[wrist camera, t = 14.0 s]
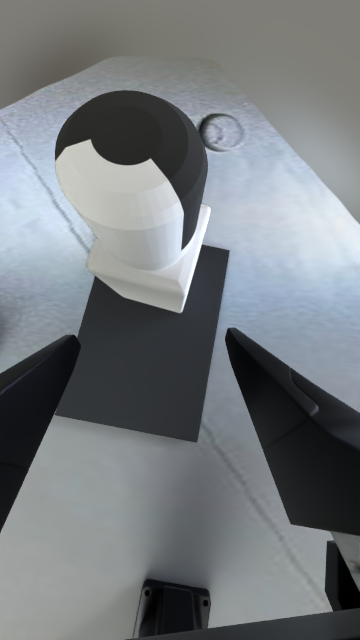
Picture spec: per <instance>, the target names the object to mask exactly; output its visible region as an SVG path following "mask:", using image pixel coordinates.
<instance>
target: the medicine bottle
mask: <svg viewBox="0 0 360 640" xmlns="http://www.w3.org/2000/svg"><path fill="white" fill-rule="evenodd" d="M55 168H56V175H57V180H58V183H59V185H60V188H61V190H62V192H63V193H64V195H65V197H66V198H67V200H68V201H69V202H70V204H71V205H72V206H73V207H74V209H75V210H76V211H77V213H78V214H79V215H80V216H81V218H82V219H83V220H84V222H85V223H86V224H87V225H88V227H89V228H90V229H91V231H92V232H93V233H94V234H95V236H96V240H95V242H94V245H93V247H92V250H91V253H90V255H89V258H88V260H87V263H86V267H87V269H88V270H89V271H90V272H91V273H93V274H94V275H95V276H97V277H98V278H99V279H100V280H102V281H103V282H104V283H106V284H107V285H108V286H109V287H111V288H112V289H113V290H115V291H116V292H117V293H118V294H120V295H121V296H122V297H124V298H128V299H131V300H135V301H138V302H142V303H145V304H149V305H152V306H156V307H160V308H163V309H167V310H170V311H174V312H177V313H181V312H182V311H183V308H184V304H185V301H186V298H187V294H188V291H189V287H190V284H191V280H192V277H193V273H194V270H195V266H196V263H197V259H198V256H199V252H200V248H201V245H202V241H203V238H204V234H205V231H206V227H207V224H208V220H209V217H210V213H211V209H210V207H209V206H207V205H204V204H201V202H202V197H203V192H204V187H205V182H206V177H207V170H208V161H207V154H206V150H205V147H204V144H203V142H202V140H201V138H200V135H199V133H198V131H197V129H196V127H195V126H194V124H193V123H192V121H191V120H190V119H189V118H188V117H187V115H186V114H184V113H183V112H182V111H181V110H180V109H179V108H177V107H176V106H174V105H173V104H171V103H169V102H168V101H166V100H164V99H161V98H159V97H156V96H153V95H150V94H147V93H143V92H138V91H126V90H123V91H114V92H109V93H105V94H102V95H99V96H97V97H95V98H93V99H91V100H90V101H88V102H86V103H85V104H84V105H82V106H81V107H80V108H78V109H77V110H76V111H75V112H73V114H72V115H71V116H70V117H69V118H68V119H67V120H66V122H65V123H64V125H63V126H62V128H61V130H60V132H59V135H58V138H57V141H56V147H55Z"/></svg>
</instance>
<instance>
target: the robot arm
mask: <svg viewBox="0 0 360 640" xmlns="http://www.w3.org/2000/svg"><path fill="white" fill-rule="evenodd" d="M225 342H226V346H227V350H228V354H229V358H230V362H231V365H232V368H233V371H234V374H235V376H236V379H237V382H238V384H239V387H240V390H241V392H242V395H243V398H244V400H245V403H246V406H247V408H248V411H249V414H250V417H251V419H252V422H253V425H254V427H255V430H256V433H257V435H258V438H259V441H260V443H261V446H262V449H263V452H264V454H265V457H266V460H267V462H268V465H269V468H270V470H271V473H272V476H273V479H274V481H275V484H276V487H277V489H278V492H279V495H280V497H281V500H282V503H283V505H284V508H285V511H286V513H287V516H288V519H289V521H290V523H291V524H292V525H298V526H304V527H309V528H315V529H321V530H327V531H330V532H331V534H332V536H333V538H334V540H332V541H327V553H326V576H325V592H326V595H327V597H328V600H329V602H330V605H331V607H332V610H333V612H327V613H319V614H312V615H305V616H297V617H290V618H282V619H275V620H268V621H260V622H253V623H245V624H238V625H231V626H223V627H216V628H208V629H207V627H208V620H209V613H210V606H211V600H210V594H209V591H208V590H206V589H202V588H196V587H191V586H185V585H179V584H174V583H168V582H163V581H157V580H151V579H147V580H145V581H144V583H143V587H142V592H141V598H140V603H139V608H138V613H137V619H136V624H135V629H134V634H133V639H127V640H360V413H359V412H357V411H356V410H354V409H353V408H351V407H349V406H348V405H346V404H345V403H343V402H342V401H340V400H338V399H337V398H335V397H334V396H332V395H331V394H329V393H327V392H326V391H324V390H323V389H321V388H320V387H318V386H317V385H315V384H313V383H312V382H310V381H309V380H308V379H306V378H305V377H303V376H302V375H300V374H299V373H298V372H296V371H295V370H293V369H292V368H290V367H289V366H288V365H286V364H285V363H284V362H282V361H281V360H279V359H278V358H277V357H275V356H274V355H272V354H271V353H270V352H268V351H267V350H265V349H264V348H263V347H261V346H260V345H258V344H257V343H256V342H254V341H253V340H252V339H250V338H249V337H247V336H246V335H245V334H243V333H242V332H240V331H239V330H238V329H236V328H228V329H227V333H226V337H225ZM80 349H81V344H80V342H79V341H78V339H77V338H76V336H75V335H65V336H63V337H61V338H60V339H58V340H56V341H55V342H53V343H51V344H50V345H48V346H46V347H44V348H43V349H41V350H39V351H38V352H36V353H34V354H33V355H31V356H29V357H28V358H26V359H24V360H22V361H21V362H19V363H17V364H16V365H14V366H12V367H11V368H9V369H7V370H5V371H4V372H2V373H0V532H1V530H2V528H3V526H4V523H5V521H6V519H7V517H8V515H9V512H10V510H11V508H12V506H13V504H14V501H15V499H16V497H17V495H18V492H19V490H20V488H21V486H22V484H23V481H24V479H25V477H26V475H27V473H28V470H29V468H30V466H31V464H32V461H33V459H34V457H35V455H36V453H37V450H38V448H39V446H40V444H41V442H42V439H43V437H44V435H45V433H46V430H47V428H48V426H49V424H50V422H51V419H52V417H53V415H54V413H55V411H56V408H57V406H58V404H59V402H60V400H61V397H62V395H63V393H64V391H65V389H66V386H67V384H68V382H69V380H70V378H71V375H72V373H73V370H74V368H75V365H76V361H77V358H78V355H79V352H80Z"/></svg>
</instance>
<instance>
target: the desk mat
mask: <svg viewBox="0 0 360 640" xmlns="http://www.w3.org/2000/svg"><path fill="white" fill-rule="evenodd" d="M228 257H229V250H225V249H220V248H215V247H211V246H206V245H201V248H200V252H199V256H198V259H197V263H196V266H195V270H194V273H193V277H192V280H191V284H190V287H189V291H188V294H187V298H186V301H185V304H184V308H183V311H182V312H181V313H177V312H174V311H170V310H167V309H163V308H160V307H156V306H152V305H149V304H145V303H142V302H138V301H135V300H131V299H128V298H124V297H122V296H121V295H120V294H118V293H117V292H116V291H115V290H113V289H112V288H111V287H109V286H108V285H107V284H106V283H104V282H103V281H102V280H100V279H99V278H98V277H97V276H95V279H94V282H93V285H92V289H91V292H90V296H89V299H88V303H87V306H86V310H85V313H84V317H83V320H82V323H81V327H80V330H79V334H78V337H77V339H78V341H79V342H80V344H81V349H80V352H79V355H78V358H77V361H76V365H75V368H74V370H73V373H72V375H71V378H70V380H69V382H68V384H67V386H66V389H65V391H64V393H63V395H62V397H61V400H60V402H59V404H58V406H57V410H56V413H55V415H57V416H62V417H68V418H73V419H78V420H83V421H88V422H93V423H99V424H104V425H109V426H114V427H119V428H125V429H130V430H135V431H140V432H145V433H150V434H156V435H161V436H166V437H171V438H176V439H182V440H187V441H192V442H197V440H198V435H199V429H200V423H201V417H202V411H203V405H204V399H205V393H206V387H207V381H208V375H209V369H210V364H211V358H212V352H213V346H214V340H215V334H216V328H217V322H218V316H219V310H220V304H221V299H222V293H223V287H224V281H225V275H226V269H227V263H228Z"/></svg>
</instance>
